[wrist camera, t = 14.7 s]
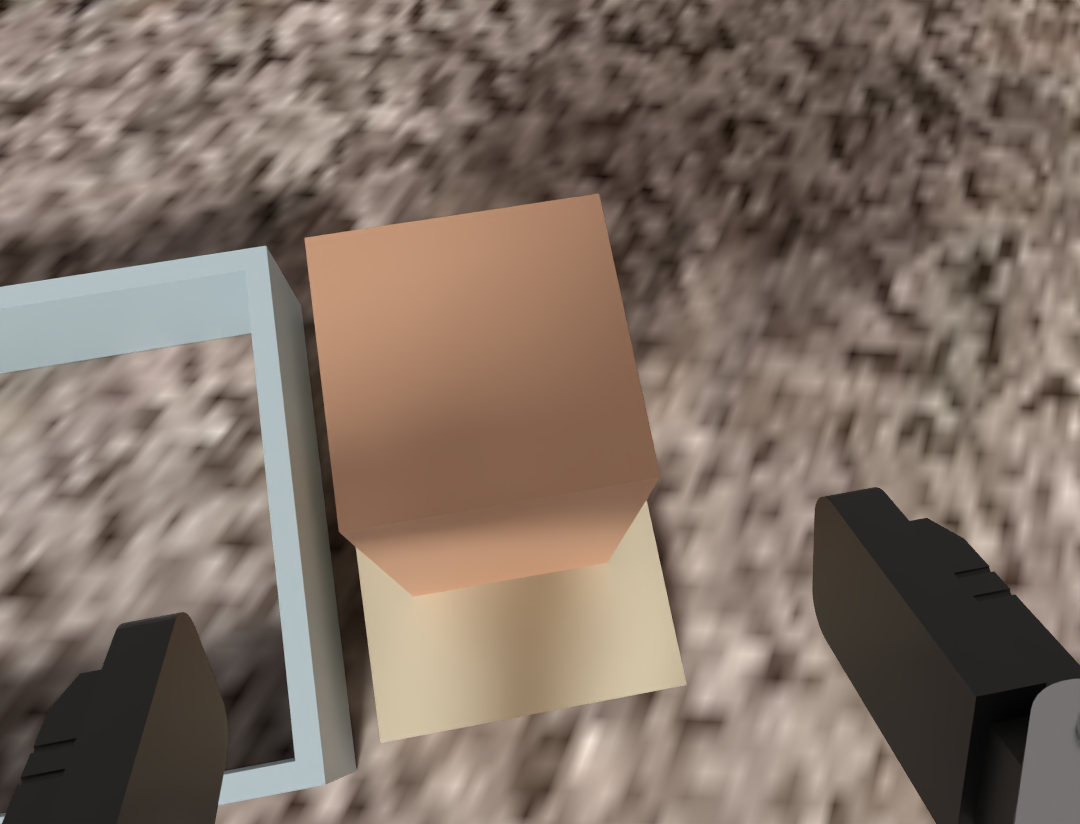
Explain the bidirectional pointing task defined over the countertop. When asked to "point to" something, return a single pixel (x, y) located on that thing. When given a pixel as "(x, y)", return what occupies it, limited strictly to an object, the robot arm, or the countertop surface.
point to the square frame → (288, 443)
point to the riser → (520, 641)
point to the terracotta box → (480, 393)
